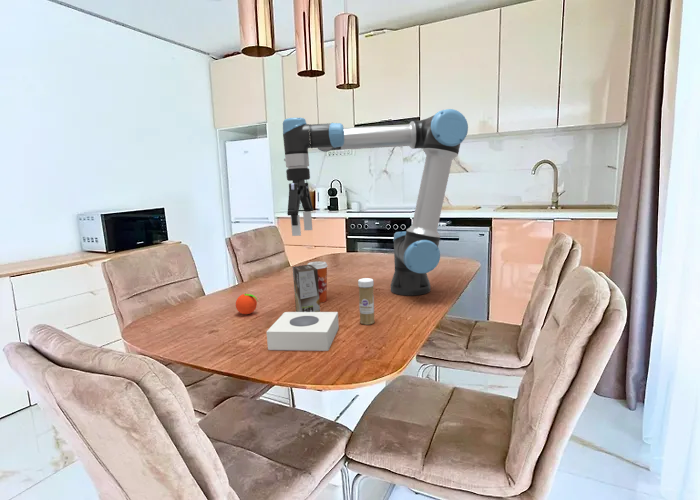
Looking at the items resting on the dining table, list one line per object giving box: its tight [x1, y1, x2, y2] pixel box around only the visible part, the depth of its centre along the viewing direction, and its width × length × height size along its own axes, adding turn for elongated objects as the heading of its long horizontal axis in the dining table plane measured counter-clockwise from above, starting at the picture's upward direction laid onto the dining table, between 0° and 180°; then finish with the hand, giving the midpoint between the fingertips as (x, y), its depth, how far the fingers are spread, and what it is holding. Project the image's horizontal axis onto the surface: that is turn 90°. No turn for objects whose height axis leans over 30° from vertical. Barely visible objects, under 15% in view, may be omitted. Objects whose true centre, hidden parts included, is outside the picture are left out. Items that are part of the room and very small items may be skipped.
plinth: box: [266, 311, 340, 352], centre depth 113 cm, size 16×16×5 cm
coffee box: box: [292, 264, 321, 312], centre depth 131 cm, size 9×6×16 cm
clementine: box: [235, 293, 259, 315], centre depth 137 cm, size 8×7×7 cm
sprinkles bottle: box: [357, 277, 376, 326], centre depth 122 cm, size 5×5×14 cm
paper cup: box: [306, 260, 329, 304], centre depth 148 cm, size 8×8×14 cm
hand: (302, 232), depth 136 cm, fingers open, 13 cm apart
